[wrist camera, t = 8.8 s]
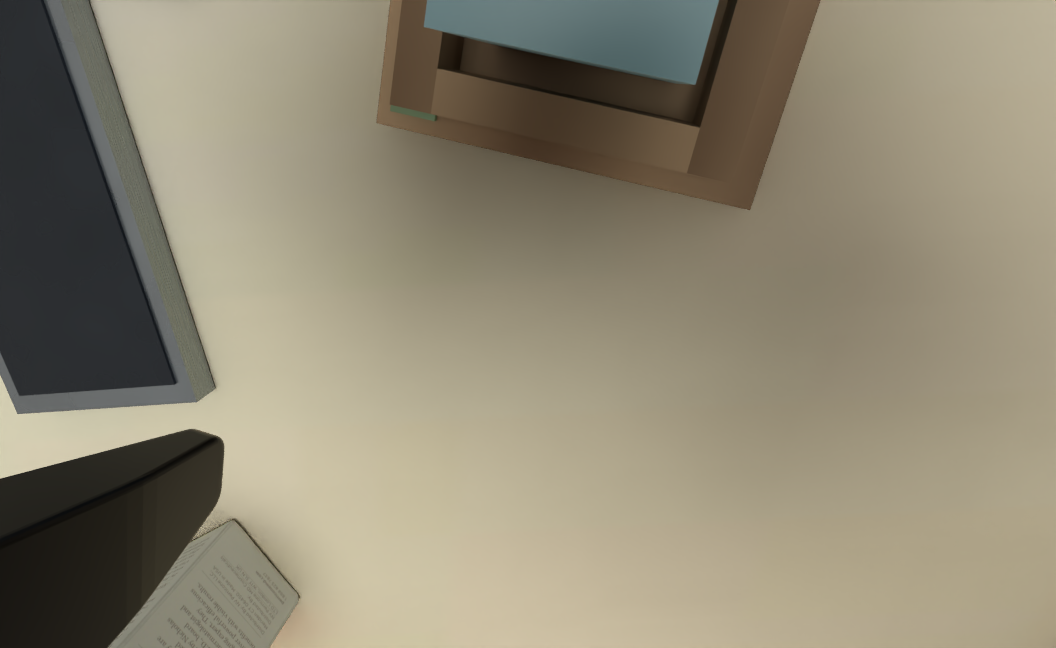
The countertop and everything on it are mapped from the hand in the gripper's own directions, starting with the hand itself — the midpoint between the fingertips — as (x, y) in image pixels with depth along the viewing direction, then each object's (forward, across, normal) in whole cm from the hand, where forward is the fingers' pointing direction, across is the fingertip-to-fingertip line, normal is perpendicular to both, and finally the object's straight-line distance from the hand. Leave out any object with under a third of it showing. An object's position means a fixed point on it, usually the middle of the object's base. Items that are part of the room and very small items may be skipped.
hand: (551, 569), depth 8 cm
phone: (+11, +18, +2) cm, 21 cm away
